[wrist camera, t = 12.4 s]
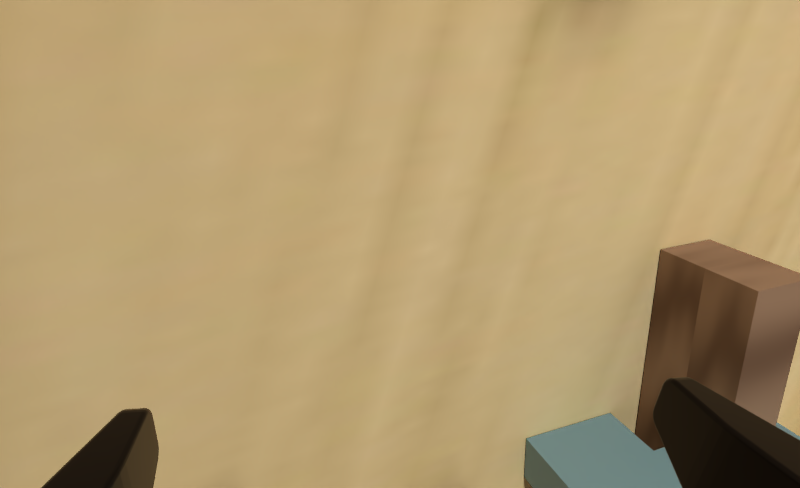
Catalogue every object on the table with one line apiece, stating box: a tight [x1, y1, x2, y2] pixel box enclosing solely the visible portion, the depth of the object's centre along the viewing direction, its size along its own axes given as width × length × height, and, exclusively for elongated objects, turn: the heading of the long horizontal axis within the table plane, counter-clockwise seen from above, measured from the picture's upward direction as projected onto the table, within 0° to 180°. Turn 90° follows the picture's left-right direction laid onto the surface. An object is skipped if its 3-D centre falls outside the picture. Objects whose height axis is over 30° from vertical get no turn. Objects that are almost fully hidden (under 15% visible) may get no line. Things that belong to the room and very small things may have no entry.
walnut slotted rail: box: [635, 240, 800, 451], centre depth 28 cm, size 20×3×5 cm, turn 3°
